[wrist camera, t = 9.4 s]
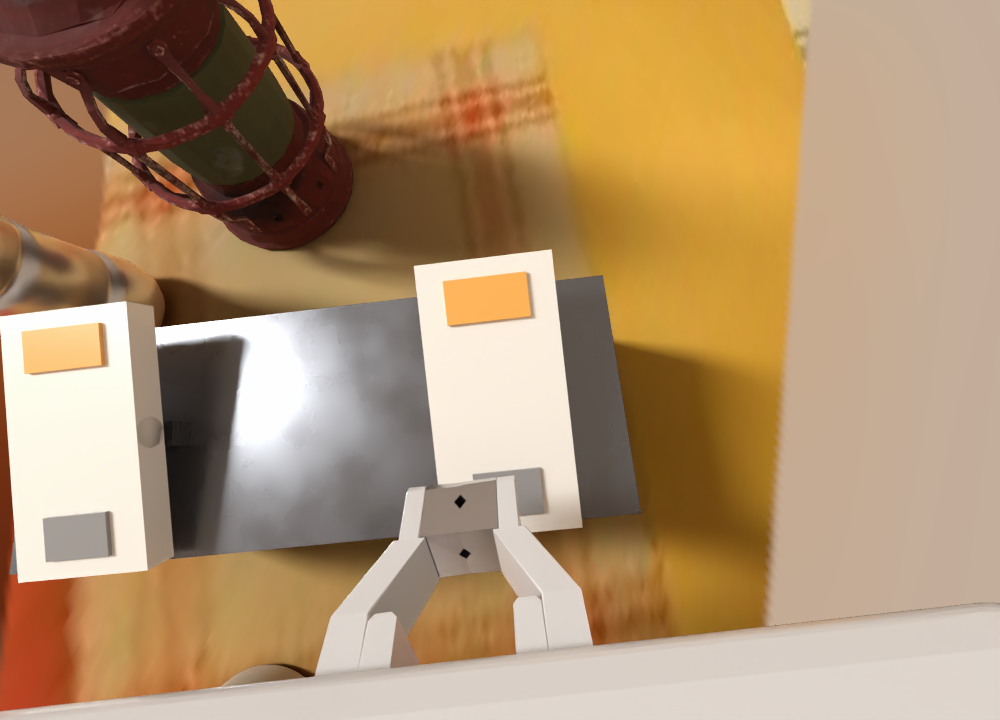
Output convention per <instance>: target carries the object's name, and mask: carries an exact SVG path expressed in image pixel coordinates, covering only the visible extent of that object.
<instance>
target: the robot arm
mask: <svg viewBox="0 0 1000 720" xmlns="http://www.w3.org/2000/svg"><path fill="white" fill-rule="evenodd" d="M492 571H501V572H502V574H503V575H504V577H505V578H506V580H507V581H508V583H509V584H510V586H511V587H512V589H513V590H514V592H515V593H516V595H517V596H518V598H517V599H516V601H515V602H514V603H513V607H514V624H515V641H516V654H513V655H504V656H495V657H486V658H477V659H468V660H459V661H450V662H441V663H432V664H423V665H420V663H419V661H418V659H417V657H416V655H415V653H414V651H413V649H412V647H411V645H410V643H409V641H408V639H407V636H408V634H409V633H410V631H411V629H412V627H413V626H414V624H415V622H416V620H417V619H418V617H419V615H420V614H421V612H422V610H423V608H424V607H425V605H426V603H427V601H428V600H429V598H430V596H431V594H432V593H433V591H434V589H435V587H436V586H437V584H438V582H439V580H440V579H439V578H442V577H449V576H456V575H463V574H470V573H481V572H492ZM0 720H1000V603H973V604H964V605H955V606H947V607H938V608H930V609H920V610H911V611H902V612H893V613H883V614H875V615H865V616H856V617H847V618H838V619H830V620H821V621H812V622H802V623H794V624H786V625H775V626H766V627H757V628H748V629H739V630H730V631H721V632H713V633H704V634H695V635H686V636H677V637H668V638H659V639H650V640H641V641H632V642H623V643H614V644H605V645H595V646H593V643H592V638H591V633H590V629H589V624H588V619H587V614H586V610H585V605H584V600H583V595H582V591H581V588H580V587H579V586H578V585H577V584H576V583H575V582H574V580H573V579H572V578H571V577H570V576H569V575H568V574H567V572H566V571H565V570H564V569H563V568H562V567H561V566H560V565H559V563H558V562H557V561H556V560H555V559H554V558H553V557H552V555H551V554H550V553H549V552H548V551H547V550H546V549H545V547H544V546H543V545H542V544H541V543H540V542H539V541H538V539H537V538H536V537H535V536H534V535H533V534H532V533H531V532H530V530H529V529H528V528H527V527H526V526H522V525H521V517H520V510H519V503H518V495H517V488H516V481H515V476H514V475H513V476H505V477H497V478H496V477H495V478H488V479H480V480H472V481H465V482H462V483H451V484H440V485H430V486H421V487H412V488H409V489H408V491H407V493H406V499H405V505H404V511H403V516H402V522H401V528H400V534H399V540H396V541H393V542H392V543H391V544H390V545H389V547H388V548H387V549H386V550H385V552H384V553H383V554H382V555H381V556H380V558H379V559H378V560H377V561H376V563H375V564H374V565H373V566H372V567H371V569H370V570H369V571H368V572H367V573H366V575H365V576H364V577H363V578H362V580H361V581H360V582H359V583H358V584H357V586H356V587H355V588H354V589H353V590H352V592H351V593H350V594H349V595H348V597H347V598H346V599H345V600H344V601H343V603H342V604H341V605H340V606H339V608H338V609H337V610H336V611H335V612H334V614H333V615H332V616H331V618H330V622H329V625H328V629H327V633H326V636H325V640H324V644H323V647H322V651H321V654H320V658H319V662H318V665H317V669H316V673H315V676H314V677H306V678H297V679H288V680H279V681H270V682H261V683H252V684H243V685H234V686H225V687H216V688H207V689H198V690H189V691H180V692H171V693H162V694H153V695H144V696H135V697H126V698H117V699H108V700H98V701H89V702H80V703H71V704H62V705H53V706H44V707H35V708H26V709H16V710H7V711H0Z"/></svg>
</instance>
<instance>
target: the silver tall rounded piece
mask: <svg viewBox="0 0 1000 720" xmlns="http://www.w3.org/2000/svg"><path fill="white" fill-rule="evenodd" d="M125 301H127V302H132V303H138V304H143V305H149V306H153V308H154V320H155V328H160V326H161V324H162V322H163V319H164V315H165V301H164V297H163V294H162V292H161V290H160V288H159V286H158V284H157V282H156V281H155V280H154V279H153V278H152V276H150V275H149V274H147V273H146V272H144V271H143V270H142V269H140V268H139V267H137V266H136V265H134V264H133V263H131V262H129V261H127V260H124V259H122V258H119V257H116V256H112V255H109V254H106V253H103V252H99V251H95V250H90V249H84V248H81V247H79V246H76V245H73V244H70V243H67V242H65V241H62V240H59V239H56V238H53V237H51V236H48V235H45V234H42V233H39V232H37V231H34V230H31V229H29V228H27V227H25V226H22V225H20V224H18V223H16V222H14V221H12V220H10V219H7V218H5V217H2V216H1V215H0V317H1V316H9V315H17V314H25V313H34V312H42V311H50V310H59V309H67V308H75V307H83V306H92V305H100V304H108V303H117V302H125Z"/></svg>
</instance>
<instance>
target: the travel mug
mask: <svg viewBox="0 0 1000 720" xmlns="http://www.w3.org/2000/svg"><path fill="white" fill-rule="evenodd" d="M297 678H305V677H304V676H302V675H301V674H299V673H298V672H296V671H294V670H292V669H289V668H287V667H283V666H278V665H260V666H255V667H252V668H249V669H247V670H244V671H242V672H240V673H238V674H237V675H235V676H234V677H232V678H231V679H230V680H228V681H227V682H226V683H225V684H223V685H222V686H221V687H225V686H234V685H243V684H252V683H261V682H270V681H279V680H288V679H297Z"/></svg>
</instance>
